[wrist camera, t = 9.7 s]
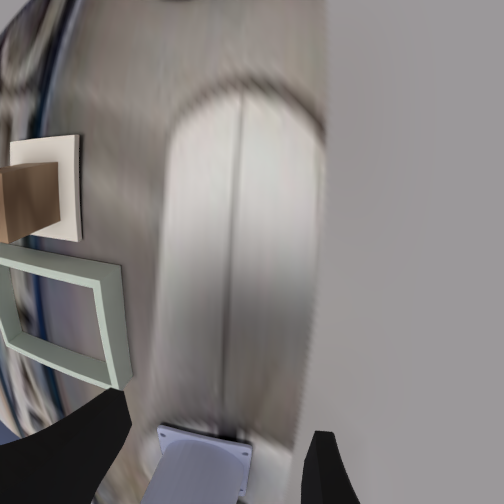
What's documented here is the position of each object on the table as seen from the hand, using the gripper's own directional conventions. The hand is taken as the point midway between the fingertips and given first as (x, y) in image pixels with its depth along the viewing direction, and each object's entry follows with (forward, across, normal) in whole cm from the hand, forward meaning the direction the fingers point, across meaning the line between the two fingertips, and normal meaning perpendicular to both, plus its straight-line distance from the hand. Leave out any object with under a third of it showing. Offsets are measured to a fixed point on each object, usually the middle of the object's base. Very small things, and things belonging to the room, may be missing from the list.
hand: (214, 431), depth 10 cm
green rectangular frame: (+9, +16, +3) cm, 18 cm away
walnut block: (+9, +16, -6) cm, 19 cm away
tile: (+9, +16, -6) cm, 19 cm away
